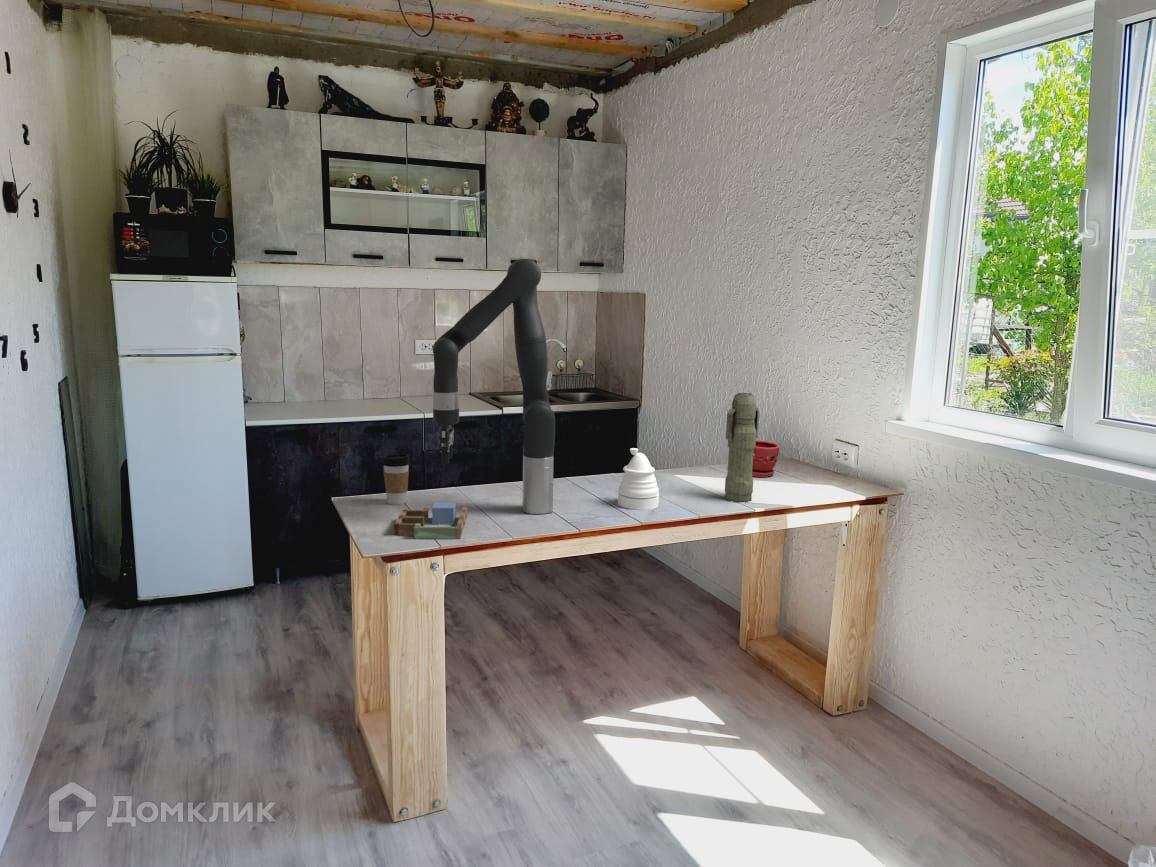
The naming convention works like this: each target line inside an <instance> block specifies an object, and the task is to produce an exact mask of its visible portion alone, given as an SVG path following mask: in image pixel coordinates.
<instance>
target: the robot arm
mask: <svg viewBox="0 0 1156 867" xmlns="http://www.w3.org/2000/svg"><path fill="white" fill-rule="evenodd" d="M541 279H542V270H541V268H540V266H539V264H538V263H537V262H536V261H534V260H532V259H529V258H519V259H517V260H515V261H512V263H511V264H510V265H509V267H508V269H507V271H506V276H505V277H504V278H503V279H502V280H501V282H500V283H499V284H498V285H497V286H496V287H495V288H494V289H493V290H492V291H491V292H490V293H489V294H488V295H486V296H485V297H484V298H482V299H481V300H480V301H479V302H478V303H476V304H475V305H473V307H471V308H470V309H469V310H468V311H467V312H466V313H465V314H464V315H462V317H461V318H460V319H459V320H457V322H456V323H455V324H454V325H453V326H452V327H451V328H450V329H448V330H447V331H446V332H444V333H443V334H442V335H441V336H440V337H439V338H438V339H437V340H436V341H435V342H434V343H433V346H432V354H433V366H434V367H433V369H434V374H433V379H432V380H433V387H432V388H433V395H432V422H433V424H436V425H440V429H438V436H439V437H438V438H439V439H438V444H439V447H438V451H439V453H440V465H442V466H448V465H450V464H449V463H450V460H452V458H453V445H454V442H455V441H454V433H455V430H454V425H457V424H459V422H460V398H459V380H458V370H459V369H458V365H459V353H460V352H461V351H462V350H463V349H464V348H465V347H466V346H467V345H468V344H470V343H472V342H474V340H476V339H477V338H478V337H479V336H480V335H481V334H482V333H483V332H484V331H485V330H486V329H487V328H488V327H489V326H490V325H491V324H492V323H493V322H495V320H496V319H497V318H498V317H500V315H501V314H502V313H503V312H504V311H505V310H507V308H508V307H509V306H511V305H512V308H513V333H514V349H515V356H516V362H517V367H518V373H519V376H520V381H521V386H522V421H523V446H522V505H521V506H522V511H523V512H524V513H527V514H532V515H537V514H538V515H544V514H548V513H553V512H554V450H555V446H556V445H555V444H556V441H555V440H556V416H555V413H554V411H553V409H552V406H551V404H550V399H549V394H548V388H547V387H548V386H547V377H548V376H547V375H548V349H547V348H548V347H547V338H546V334H545V332H546V331H545V329H544V328H545V327H544V324H543V321H542V318H541V315H540V312H539V306H538V293H537V292H538V290H537V288H538V286H539V284H540V282H541Z"/></svg>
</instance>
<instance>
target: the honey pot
mask: <svg viewBox="0 0 1156 867" xmlns="http://www.w3.org/2000/svg"><path fill="white" fill-rule="evenodd" d="M629 452H630V453H631V455H632V458H631V459H630V461H629V463H628V464H627V465H626V466H624V467H623V468H622V470H623V471H624V474H623V476H622V478H621V481H620V485H619V486H618V493H617V504H618V506H619V507H621V508H624V509H629V510H636V511H642V510H643V511H646V510H653V509H656V508H658V506H659V504H660V503H659V502H660V501H659V500H660V497H659V496H660V495H659V494H660V493H659V492H660V488H659V486H658V483H657V479H656V476H655V473H654V472H655V471H656V469H655V467H653V466H652V465H651V462H650V461H649V459H648V457H647V456H646V454H644V453H642V452H639V448H635V447H632V448H630V449H629Z"/></svg>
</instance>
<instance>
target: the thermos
mask: <svg viewBox="0 0 1156 867" xmlns="http://www.w3.org/2000/svg"><path fill="white" fill-rule="evenodd" d="M726 414H727V415H726V429H725V430H726V431H725V438H726V440H727V447H728V460H727V474H726V477H725V479H724V480H725V481H724V482H725V483H724V492H725V495H724V499H725V501H728V500H729V501H728V502H731V501H733V502H732V503H739V502H745V503H749V502H748V501H750V502H751V501H752V497H753V496H752V494H753V493H754V488H753V487H754V479H753V476H752V467H753V456H754V454H753V452H754V449H755V444H756V441H757V439H758V437H759V436H758V435H759V427H760V426H759V423H760V422H759V421H760V410H759V408H758V407H757V401H756V396H755V395H754V394H752V393H749V392H737V393H735V394H734V396H733V399H732V401H731V408H729V410H728V411H727V413H726Z"/></svg>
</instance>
